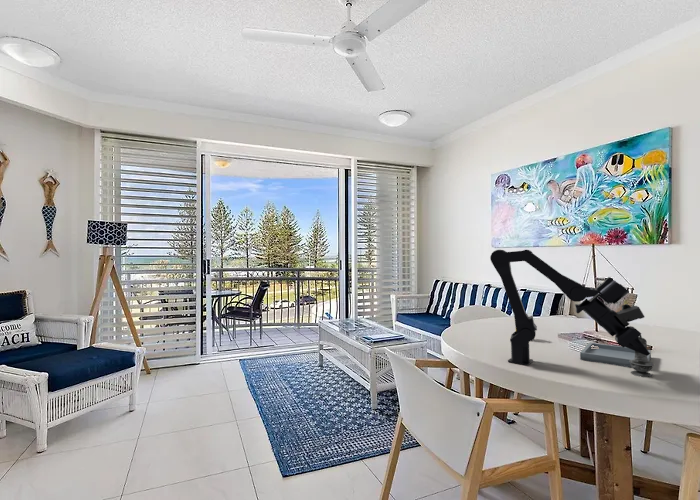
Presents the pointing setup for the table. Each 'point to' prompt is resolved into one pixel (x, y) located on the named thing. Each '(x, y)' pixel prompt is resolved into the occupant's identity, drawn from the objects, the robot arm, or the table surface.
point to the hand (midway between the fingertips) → (646, 353)
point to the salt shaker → (641, 362)
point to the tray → (609, 354)
